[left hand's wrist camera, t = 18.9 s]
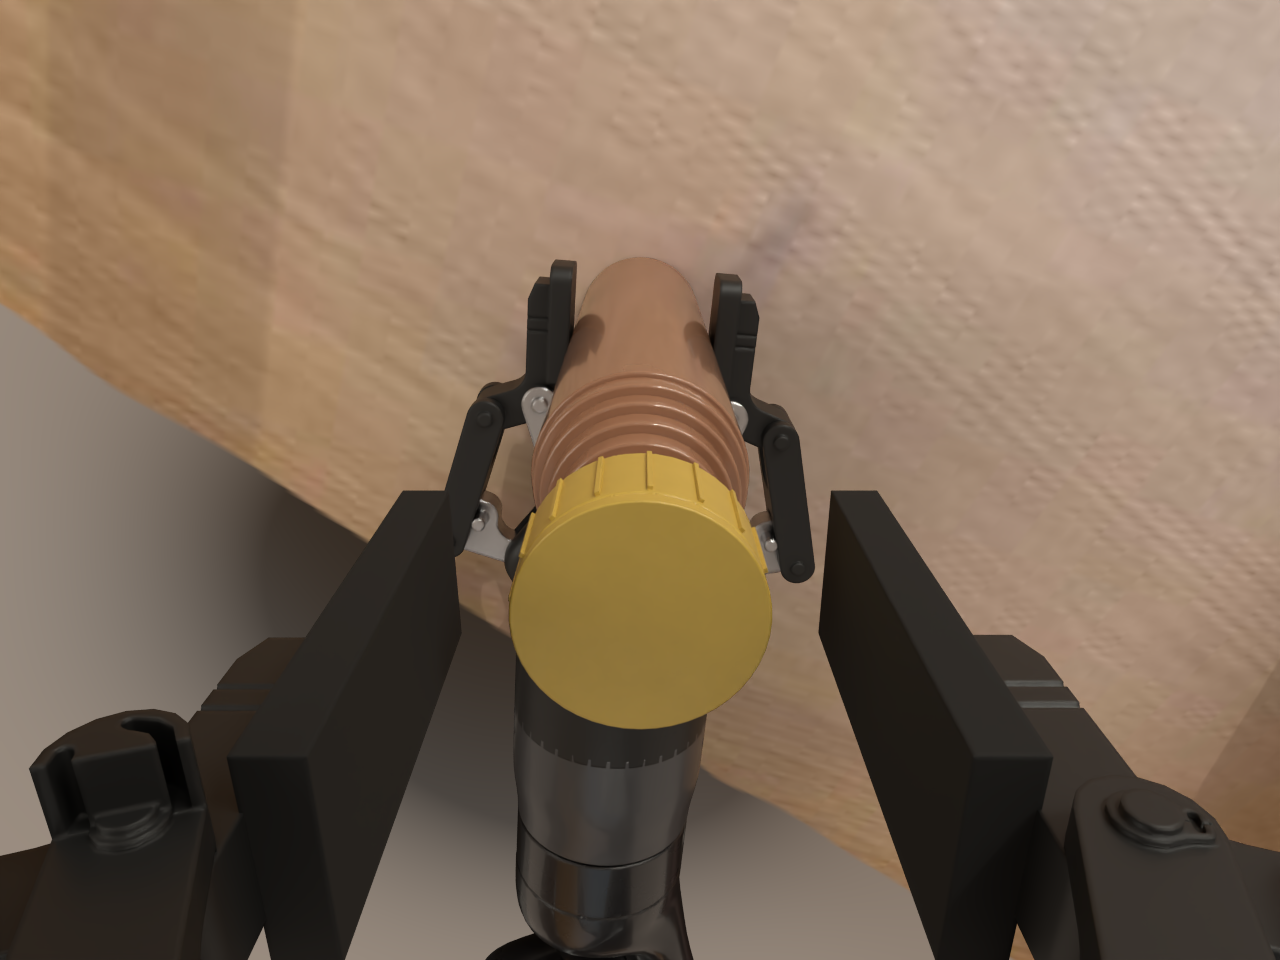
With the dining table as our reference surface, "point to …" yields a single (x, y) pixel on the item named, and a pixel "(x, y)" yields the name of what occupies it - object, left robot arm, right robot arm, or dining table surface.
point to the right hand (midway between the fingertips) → (645, 272)
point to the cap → (640, 593)
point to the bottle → (640, 383)
